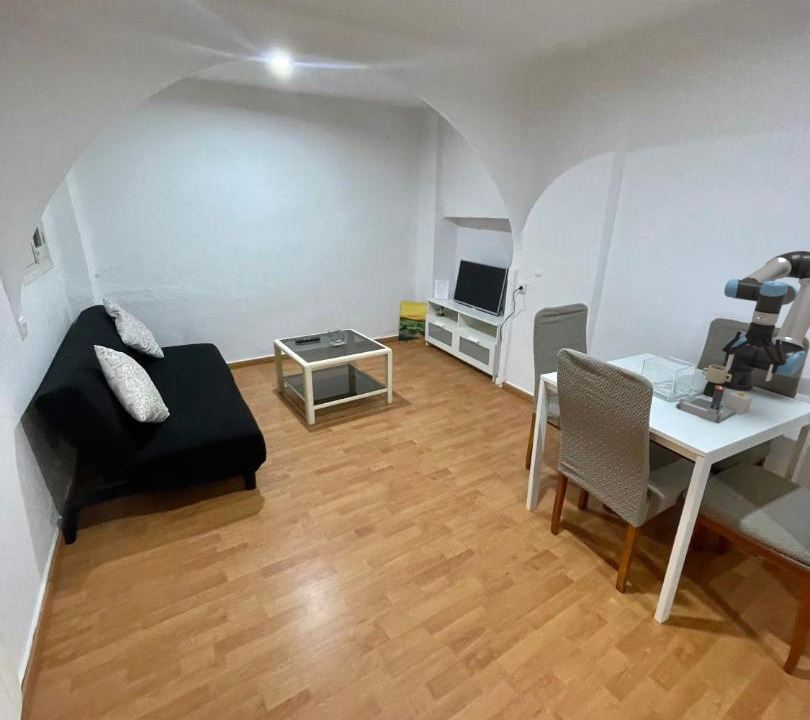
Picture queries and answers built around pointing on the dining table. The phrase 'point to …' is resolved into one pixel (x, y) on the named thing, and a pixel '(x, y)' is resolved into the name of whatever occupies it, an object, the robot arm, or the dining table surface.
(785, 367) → the robot arm
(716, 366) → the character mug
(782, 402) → the dining table surface
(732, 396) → the housing
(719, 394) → the lever
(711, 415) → the base plate
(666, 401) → the dining table surface
